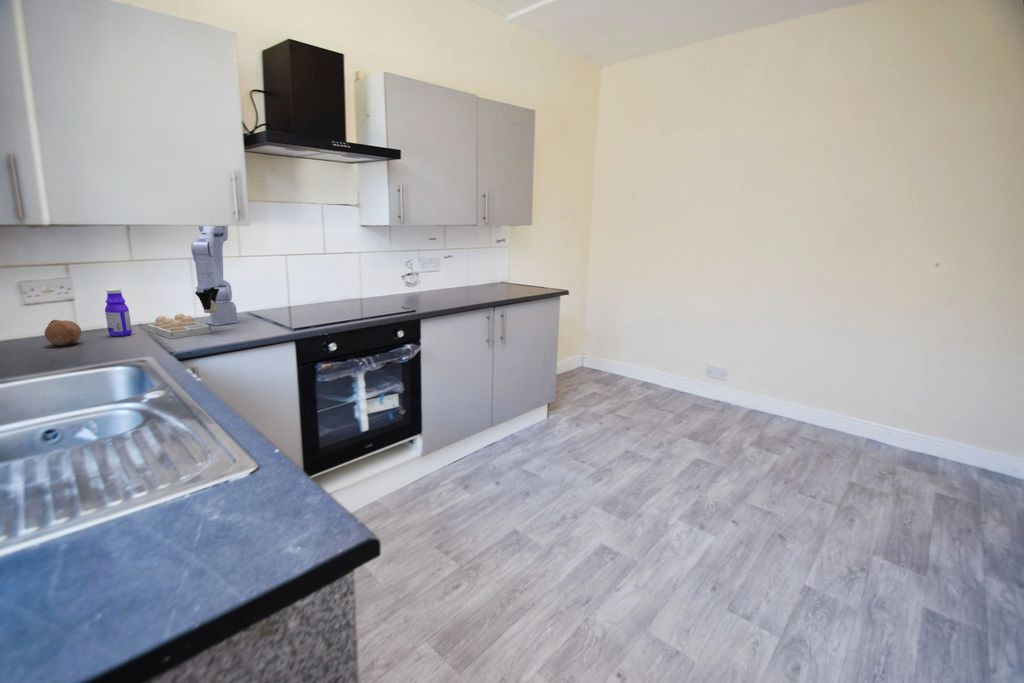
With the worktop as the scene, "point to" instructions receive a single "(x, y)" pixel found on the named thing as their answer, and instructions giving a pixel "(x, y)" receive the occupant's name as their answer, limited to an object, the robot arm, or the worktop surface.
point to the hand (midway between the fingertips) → (209, 308)
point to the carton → (178, 327)
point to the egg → (213, 308)
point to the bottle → (117, 314)
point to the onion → (62, 332)
